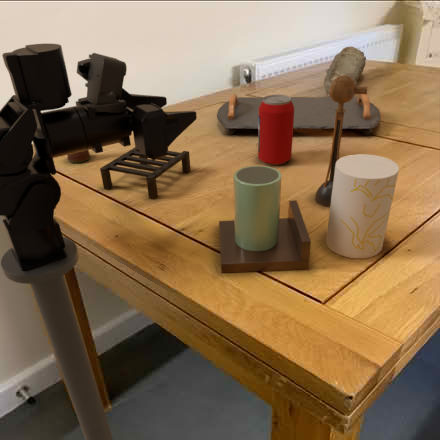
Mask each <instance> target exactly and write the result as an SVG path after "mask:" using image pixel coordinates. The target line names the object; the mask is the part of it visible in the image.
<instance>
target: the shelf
mask: <svg viewBox="0 0 440 440" xmlns="http://www.w3.org/2000/svg"><path fill="white" fill-rule="evenodd" d="M218 232H219V250H220V251H219V253H220V271H221V272H220V273H221V274H226V273H228V274H229V273H248V272H250V273H252V272H271V271H292V270H297V271H298V270H309V264H310V255H311V243H312V241H311V238H310V235H309V232H308V229H307V226H306V223H305V220H304V218H303V215H302V212H301V209H300V206H299V203H298V200H296V199H295V200H288V211H287V217H281V218H279V237H278V243H277V244H276V245H275V246H274V247H273V248H271V249H268V250H265V251H249V250H245V249H242V248H240V247H239V246H238V245H237V244H236V243H235V240H234V219H233V220H219V221H218Z"/></svg>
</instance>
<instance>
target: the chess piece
mask: <svg viewBox="0 0 440 440" xmlns="http://www.w3.org/2000/svg"><path fill="white" fill-rule="evenodd" d="M66 156H67V160H68V161H69V162H70V163H77V164H78V163H84V162H86V161H88V160H90V158H91V154H90V151H89V150H86V151H82V152H77V153H73V154H69V155H66Z"/></svg>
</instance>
